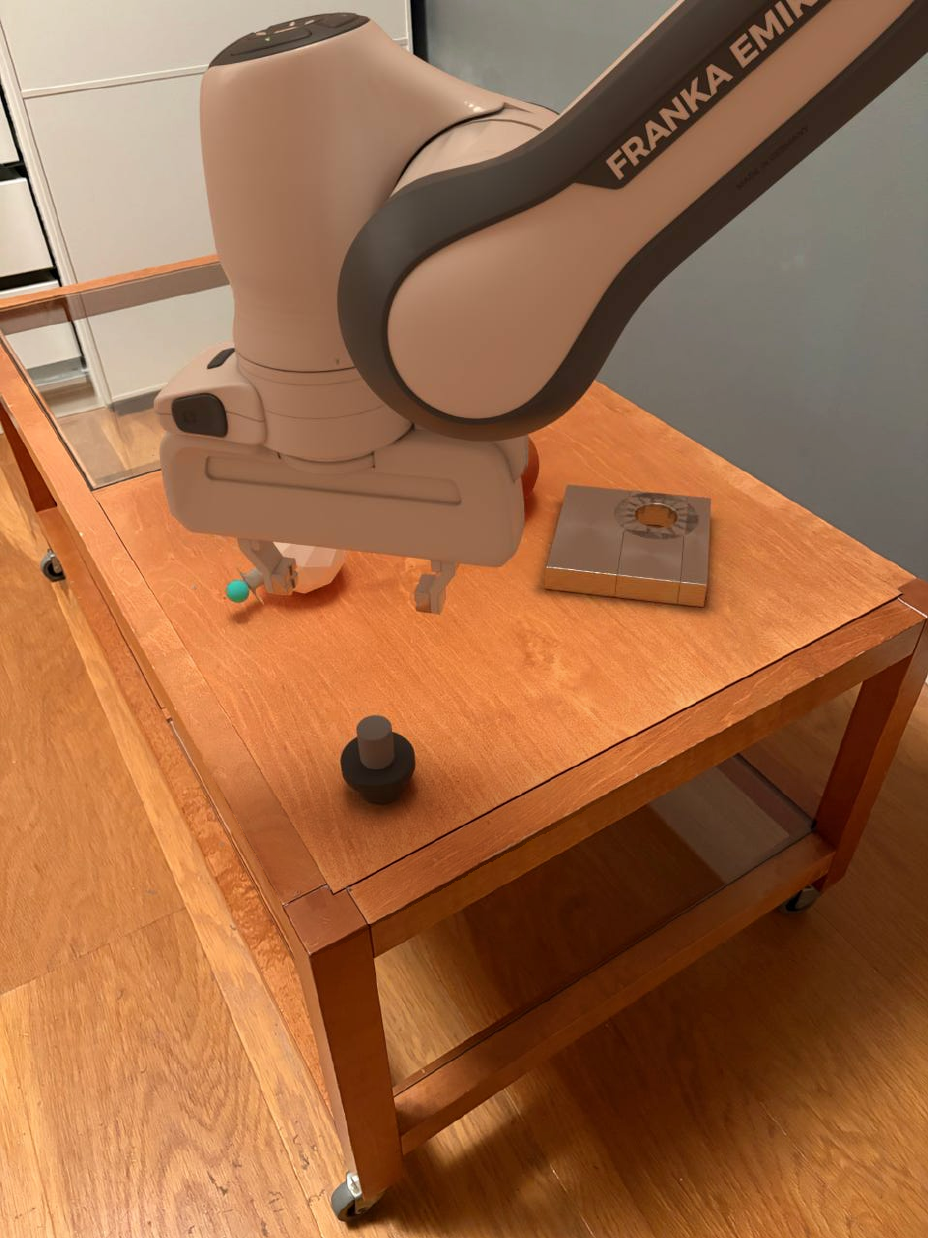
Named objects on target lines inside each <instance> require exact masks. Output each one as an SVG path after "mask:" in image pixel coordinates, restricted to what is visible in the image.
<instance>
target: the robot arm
mask: <svg viewBox="0 0 928 1238" xmlns="http://www.w3.org/2000/svg"><path fill="white" fill-rule="evenodd" d="M927 53H928V0H677V1H676V2H675V3H674V4H673V5H672V6H671V7H669V9H667V10H666V11H665V13H663V14H662V15H661V16H660V17H659V18H658V19H657V20H656V21H655V22H653V24H652V25H651V26H650V27H649V28H648V29H647V30H646V31H645V32H644V33H643V34H642V35H640V36H639V38H637V39H636V40H635V42H633V43H632V44H631V45H630V46H629V47H628V48H627V49H626V50H625V51H624V52H623V53H622V54H621V55H620V56H619V57H618V58H617V59H616V60H615V61H613V63H612V64H610V66H608V68H606V69H605V70H604V71H603V72H602V73H601V74H600V75H599V76H598V77H597V78H596V79H595V80H594V81H593V82H592V83H591V84H590V85H589V86H587V88H586V89H585V90H584V91H583V92H581V93H580V95H578V96H577V97H575V99H574V100H573V101H572V102H571V103H570V104H569V105H568V106H567V107H566V108H565V109H563V111H562V112H561V113H559V112H557V111H556V110H554V109H551V108H550V107H547V106H544V105H542V104H538V103H535V102H531V101H523V100H520V99H516V98H513V97H510V96H507V95H503V94H500V93H497V92H494V91H491V90H488V89H485V88H482V87H479V86H477V85H474V84H471V83H469V82H467V81H464V80H462V79H460V78H458V77H455V76H453V75H451V74H449V73H447V72H445V71H443V70H441V69H440V68H437V67H435V66H434V65H432V64H430V63H428V62H427V61H425V60H424V59H422V58H420V57H418V56H417V55H415V54H413V53H412V52H410V50H407V49H406V48H404V47H403V46H402V45H400V44H399V43H398V42H396V40H394V38H392V37H391V36H390V35H389V34H388V33H386V31H385V30H384V29H383V28H382V27H381V26H380V25H379V24H378V23H377V21H375V20H373V19H372V18H370V17H368V16H366V15H362V14H358V13H355V12H348V11H347V12H345V11H343V12H339V11H338V12H329V13H326V12H325V13H320V14H314V15H308V16H304V17H299V18H295V19H291V20H288V21H284V22H280V23H276V24H273V25H270V26H268V27H267V28H264V29H260V30H259V31H256V32H254V31H252V32H249V33H247V34H245V35H243V36H241V37H240V38H239V37H238V38H237V39H236V40H234V41H233V42H231V43H230V44H229V45H227V46H226V47H225V48H223V49H222V50H221V51H220V52H218V54H216V55H215V57H214V58H212V60H211V61H210V63H209V64H208V66H207V69H206V70H205V72H204V73H203V74H202V78H201V82H200V88H199V89H200V90H199V132H200V147H201V157H202V158H201V159H202V167H203V176H204V184H205V191H206V198H207V205H208V212H209V219H210V225H211V230H212V236H213V241H214V242H213V243H214V248H215V251H216V255H217V259H218V261H219V264H220V266H221V267H222V270H223V271H224V273H225V276H226V277H227V279H228V282H229V284H230V288H231V292H232V297H233V298H232V299H233V304H234V305H233V306H234V307H233V308H234V310H233V311H234V312H233V319H232V330H231V331H232V340H229V341H225V342H221V343H217V344H214V345H211V346H208V347H207V348H205V349H204V350H202V351H201V352H200V353H198V354H197V355H196V356H194V357H193V358H192V359H191V360H189V361H188V362H187V363H185V364H184V366H183V367H181V368H180V369H179V370H177V372H176V373H175V374H174V375H173V376H172V377H171V378H170V379H169V380H168V382H167V383H166V384H165V385H164V386H163V387H162V388H161V390H160V391H159V393H158V394H157V395H156V396H155V398H154V399H153V410H154V413H155V417H156V419H157V422H158V424H159V425H160V427H161V428H162V429H163V430H164V431H165V432H166V433H165V434H164V435H163V436H162V437H161V441H160V444H159V453H158V455H159V462H160V471H161V476H162V483H163V487H164V491H165V497H166V500H167V504H168V508H169V511H170V513H171V515H172V517H173V518H174V519H175V520H176V521H177V522H178V523H179V524H180V525H181V526H182V527H183V528H184V529H185V530H187V531H188V532H190V533H193V534H194V533H195V534H202V535H212V536H219V537H227V538H228V537H229V538H236V540H237V544H238V545H237V546H238V549H239V550H240V552H241V553H242V554H243V555H244V556H245V557H246V558H247V559H248V560H249V561H250V563H251V564H252V565H253V566H254V568H255V567H256V568H257V569H258V570H259V571H260V572H262V573H263V578H264V588H265V592H266V593H267V594H273V595H280V596H281V595H282V596H292V594H293V593H294V591H293V589H294V588H296V586H297V584H298V573H297V571H296V570H295V569H296V568H297V565H296V560H295V558H288V557H283V555H282V554H281V553H280V551H279V550H278V548H277V547H276V546H275V544H274V543H273V542H280V543H288V544H297V545H305V546H314V547H323V548H331V549H340V550H345V551H348V552H349V551H350V552H358V553H366V554H375V555H383V556H392V557H401V558H409V559H417V560H427V561H430V571H432V572H433V573H435V574H431V573H430V574H428V573H421V574H420V577H419V578H418V584H416V587H415V589H414V591H413V595H414V601H415V602H416V603H415V605H414V608H415V609H414V610H415V612H416V613H417V612H418V613H425V614H431V615H438V616H439V615H441V614H442V613H443V609H444V606H445V605H446V599H447V586H448V585H449V584H450V582H451V581H452V579H453V578H454V577H455V576H456V573H457V570H458V568H459V566H460V564H462V565H468V566H469V565H470V566H478V567H486V568H496V569H497V568H502V567H503V566H505V565H506V564H507V563H508V562H510V560H511V559H513V558H514V557H515V556H516V554H517V552H518V550H519V547H520V545H521V541H522V537H523V533H524V530H525V529H524V528H525V500H524V499H523V489H522V482H521V476H522V475H523V474H524V472H525V471H526V468H527V466H528V459H529V438H530V437H529V435H530V434H533V433H535V432H538V431H540V430H543V429H544V428H546V427H548V426H549V425H551V424H552V423H554V422H556V421H557V420H558V419H560V418H561V417H563V416H564V415H566V414H567V412H569V411H570V410H571V409H572V408H573V407H574V406H575V405H577V403H578V402H579V401H580V400H581V399H582V397H584V395H585V394H586V393H587V392H588V390H589V389H590V387H591V386H592V385H593V383H594V381H595V380H596V378H597V377H598V375H599V373H600V372H601V370H602V368H603V367H604V365H605V364H606V361H607V360H608V358H609V356H610V354H611V353H612V351H613V349H614V347H615V345H616V344H617V342H618V340H619V338H620V337H621V335H622V334H623V332H624V330H625V328H626V327H627V326H628V324H629V322H630V321H631V319H632V318H633V316H635V313H636V312H637V311H638V310H639V308H640V307H641V306H642V304H643V303H644V301H646V299H647V298H648V297H649V296H651V295H650V294H651V293H653V291H654V290H655V289H656V288H658V286H659V285H660V284H661V283H662V282H663V281H664V280H665V279H666V278H668V277H669V276H670V274H671V273H673V272H674V271H675V270H676V269H677V268H678V267H679V266H680V265H681V264H683V263H684V262H685V261H686V260H687V259H688V258H690V257H691V256H692V255H693V254H694V253H695V252H696V251H698V249H700V248H701V247H702V246H703V245H705V244H706V243H707V242H708V241H710V240H711V239H712V238H713V237H714V236H716V234H718V233H719V232H720V231H721V230H722V229H724V228H725V227H726V226H727V225H728V224H729V223H731V222H732V221H733V220H734V219H735V218H737V217H738V216H739V215H740V214H741V213H742V212H743V211H745V210H746V209H747V208H748V207H750V206H751V205H752V204H753V203H754V202H755V201H757V200H758V199H759V198H760V197H761V196H763V195H764V194H765V193H766V192H767V191H769V190H770V189H771V188H772V187H773V186H774V185H776V184H777V183H778V182H779V181H780V180H781V179H783V178H784V177H785V176H786V175H787V174H788V173H790V172H791V171H792V170H793V169H794V168H795V167H797V166H798V165H800V163H802V162H803V161H804V160H805V159H806V158H807V157H808V156H810V155H811V154H812V153H813V152H814V151H815V150H817V149H818V148H820V146H821V145H823V144H824V143H825V142H826V141H828V140H829V139H830V138H831V137H832V136H833V135H834V134H836V133H837V132H838V131H839V130H840V129H842V128H843V127H844V126H845V125H846V124H848V123H849V122H850V121H851V120H852V119H854V117H856V116H857V115H858V114H859V113H860V112H861V111H863V110H865V108H866V107H867V106H868V105H870V104H871V103H872V102H873V101H875V99H877V98H878V97H879V96H880V95H881V94H882V93H884V92H885V91H886V90H888V89H889V88H890V87H891V86H892V85H893V84H894V83H895V82H896V81H898V79H900V78H901V77H902V76H903V75H904V74H906V73H907V72H908V71H909V70H910V69H911V68H912V67H913V66H915V65H916V64H917V63H918V62H919V61H920V60H921V59H922V58H923V57H925V56H926V55H927Z"/></svg>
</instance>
